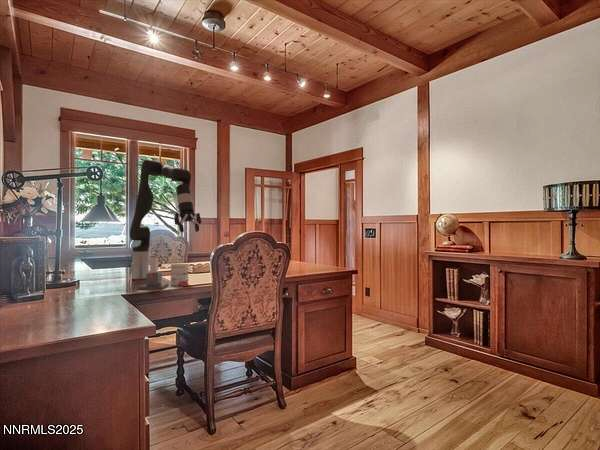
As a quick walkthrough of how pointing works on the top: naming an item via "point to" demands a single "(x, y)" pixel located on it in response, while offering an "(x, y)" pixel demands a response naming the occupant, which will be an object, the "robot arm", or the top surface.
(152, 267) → the column
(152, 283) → the jack base
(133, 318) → the top surface
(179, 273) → the ink box
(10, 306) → the top surface
